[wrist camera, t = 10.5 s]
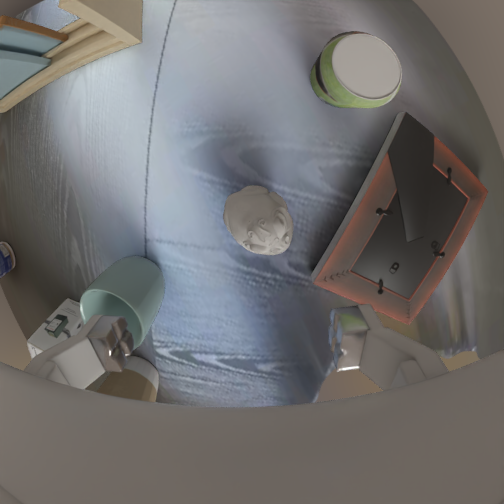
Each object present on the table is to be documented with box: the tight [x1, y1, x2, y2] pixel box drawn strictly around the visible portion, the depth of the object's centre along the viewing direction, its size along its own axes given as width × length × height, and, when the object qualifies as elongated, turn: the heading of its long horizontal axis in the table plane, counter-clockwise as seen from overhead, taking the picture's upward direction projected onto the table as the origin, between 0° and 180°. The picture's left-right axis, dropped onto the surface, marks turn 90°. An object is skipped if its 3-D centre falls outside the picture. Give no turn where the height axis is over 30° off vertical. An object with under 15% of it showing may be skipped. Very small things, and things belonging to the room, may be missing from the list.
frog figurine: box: [223, 185, 293, 255], centre depth 26 cm, size 6×7×7 cm
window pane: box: [0, 15, 68, 57], centre depth 12 cm, size 2×11×16 cm, turn 95°
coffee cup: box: [97, 356, 159, 402], centre depth 33 cm, size 11×11×15 cm
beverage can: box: [310, 31, 402, 108], centre depth 18 cm, size 6×7×12 cm
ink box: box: [27, 298, 84, 359], centre depth 31 cm, size 9×5×12 cm, turn 165°
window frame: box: [0, 0, 143, 113], centre depth 14 cm, size 7×26×14 cm, turn 95°
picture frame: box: [310, 112, 488, 325], centre depth 28 cm, size 16×2×22 cm
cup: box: [80, 256, 165, 350], centre depth 28 cm, size 8×8×10 cm
